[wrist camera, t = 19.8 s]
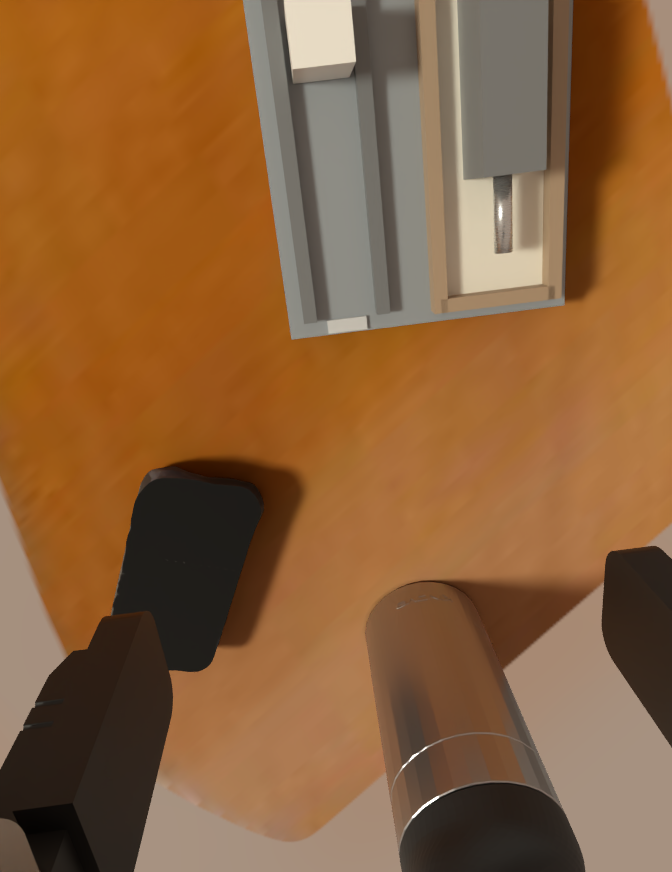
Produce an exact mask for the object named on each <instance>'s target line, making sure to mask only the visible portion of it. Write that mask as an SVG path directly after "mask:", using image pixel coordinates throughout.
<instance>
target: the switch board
mask: <svg viewBox="0 0 672 872" xmlns="http://www.w3.org/2000/svg"><path fill="white" fill-rule="evenodd" d="M243 4H244V11H245V18H246V25H247V32H248V39H249V46H250V53H251V60H252V67H253V74H254V81H255V88H256V95H257V102H258V109H259V116H260V123H261V129H262V136H263V143H264V150H265V157H266V164H267V171H268V178H269V185H270V192H271V199H272V206H273V213H274V220H275V227H276V234H277V241H278V248H279V255H280V262H281V269H282V276H283V283H284V290H285V297H286V304H287V311H288V318H289V325H290V332H291V339H299V338H307V337H315V336H323V335H331V334H339V333H347V332H355V331H363V330H371V329H379V328H387V327H395V326H403V325H411V324H419V323H427V322H435V321H443V320H450V319H458V318H466V317H474V316H482V315H490V314H498V313H506V312H514V311H522V310H530V309H538V308H546V307H554V306H562V305H564V302H565V267H566V233H567V198H568V164H569V129H570V95H571V60H572V26H573V0H549V1H548V81H547V160H546V170H541V171H533V172H525V173H517V174H512V215H513V252H510V253H503V254H495V253H494V213H493V177H486V178H476V179H466V180H463V155H462V127H461V99H460V70H459V42H458V13H457V0H351V9H352V21H353V32H354V44H355V55H356V63H355V65H354V68H353V70H352V72H351V74H350V77H348V78H339V79H331V80H323V81H314V82H306V83H298V84H293V79H292V71H291V63H290V55H289V47H288V39H287V30H286V22H285V12H284V0H243Z"/></svg>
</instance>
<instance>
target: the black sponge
mask: <svg viewBox="0 0 672 872" xmlns="http://www.w3.org/2000/svg"><path fill="white" fill-rule="evenodd" d="M263 511H264V504H263V499H262V497H261V494H260V492H259V490H258V489H257V487H256V486H255V485H253V484H252V483H249V482H244V481H240V480H236V479H229V478H214V477H205V476H201V475H199V474H195V473H191V472H187V471H185V470H182V469H180V468H178V467H175V466H171V467H164V468H158V469H154V470H151V471H150V472H148V473H147V475H146V476H145V477H144V479H143V481H142V483H141V485H140V489H139V493H138V496H137V499H136V501H135V504H134V508H133V513H132V518H131V526H130V531H129V534H128V537H127V541H126V548H125V554H124V557H123V563H122V567H121V571H120V575H119V579H118V584H117V588H116V593H115V598H114V602H113V607H112V613H111V616H112V615H120V614H128V613H135V612H143V611H149V612H150V613H151V614H152V616H153V618H154V621H155V624H156V627H157V631H158V635H159V638H160V642H161V645H162V649H163V652H164V656H165V660H166V663H167V667H168V670H178V671H186V672H198V671H201V670H203V669H205V668H207V667H208V666H209V665H210V664H211V662H212V660H213V658H214V655H215V652H216V649H217V646H218V644H219V640H220V637H221V635H222V630H223V627H224V625H225V622H226V619H227V615H228V612H229V609H230V605H231V602H232V599H233V596H234V593H235V590H236V586H237V583H238V580H239V577H240V573H241V570H242V567H243V564H244V561H245V558H246V555H247V551H248V548H249V544H250V542H251V539H252V536H253V534H254V531H255V529H256V526H257V524H258V522H259V520H260V518H261V516H262V513H263Z"/></svg>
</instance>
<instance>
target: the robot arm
mask: <svg viewBox="0 0 672 872" xmlns="http://www.w3.org/2000/svg"><path fill="white" fill-rule="evenodd" d="M603 594H604V595H603V610H602V631H603V637H604V641H605V644H606V647H607V650H608V652H609V654H610V656H611V658H612V660H613V661H614V663H615V664H616V666H617V667H618V669H619V670H620V672H621V673H622V675H623V676H624V678H625V679H626V681H627V682H628V684H629V685H630V687H631V688H632V689H633V691H634V692H635V694H636V695H637V697H638V698H639V700H640V701H641V703H642V704H643V706H644V707H645V708H646V710H647V711H648V713H649V714H650V716H651V717H652V719H653V720H654V722H655V723H656V725H657V726H658V728H659V729H660V731H661V732H662V734H663V735H664V736H665V738H666V740H667V741H668V742H669V744H670V745H671V747H672V559H671V558H670V557H669V556H668V555H667V554H666V553H665V552H664V551H663V550H661V549H660V548H659V547H657V546H648V547H641V548H633V549H626V550H618V551H611V552H610V553H609V554H608V556H607V558H606V563H605V578H604V593H603ZM365 634H366V642H367V649H368V655H369V662H370V669H371V677H372V684H373V690H374V696H375V703H376V709H377V716H378V722H379V729H380V735H381V742H382V748H383V755H384V761H385V768H386V774H387V781H388V787H389V794H390V800H391V805H392V811H393V818H394V824H395V831H396V837H397V843H398V850H399V855H400V863H401V869H402V872H585V866H584V860H583V856H582V853H581V850H580V847H579V844H578V842H577V840H576V837H575V835H574V833H573V830H572V828H571V826H570V824H569V821H568V819H567V817H566V815H565V813H564V811H563V808H562V806H561V804H560V801H559V799H558V797H557V794H556V792H555V790H554V787H553V785H552V783H551V780H550V778H549V776H548V773H547V772H546V769H545V767H544V765H543V763H542V760H541V758H540V756H539V753H538V751H537V749H536V746H535V744H534V742H533V739H532V737H531V735H530V733H529V730H528V728H527V726H526V723H525V721H524V718H523V716H522V714H521V711H520V709H519V707H518V705H517V702H516V700H515V698H514V695H513V693H512V690H511V688H510V686H509V684H508V681H507V679H506V677H505V674H504V672H503V670H502V667H501V665H500V663H499V660H498V658H497V656H496V653H495V651H494V649H493V646H492V644H491V641H490V639H489V637H488V634H487V632H486V630H485V627H484V625H483V623H482V621H481V618H480V616H479V614H478V611H477V609H476V607H475V606H474V604H473V602H472V601H471V600H470V599H469V598H468V597H467V596H466V595H465V594H464V593H463V592H461V591H460V590H458V589H456V588H455V587H452V586H449V585H446V584H443V583H436V582H419V583H414V584H410V585H406V586H404V587H401V588H399V589H396V590H394V591H393V592H391V593H390V594H388V595H387V596H385V597H384V598H383V599H382V600H381V601H380V602H379V603H378V604H377V605H376V606H375V608H374V609H373V611H372V612H371V614H370V616H369V619H368V621H367V625H366V632H365ZM172 706H173V692H172V683H171V678H170V674H169V670H168V667H167V663H166V660H165V656H164V652H163V649H162V645H161V642H160V638H159V635H158V631H157V627H156V624H155V621H154V618H153V616H152V614H151V613H150V612H149V611H143V612H135V613H128V614H120V615H112V616H105V617H104V618H102V620H101V621H100V623H99V625H98V627H97V629H96V631H95V634H94V636H93V638H92V640H91V642H90V644H89V647H88V649H86V650H78V651H73V652H72V653H71V654H70V655H69V656H68V657H67V658H66V659H65V660H64V661H63V662H62V663H61V664H60V665H59V666H58V667H57V668H56V669H55V670H54V671H53V672H52V673H51V674H50V675H49V677H48V679H47V680H46V682H45V684H44V686H43V688H42V690H41V692H40V694H39V696H38V698H37V700H36V702H35V708H32V709H31V711H30V713H29V715H28V717H27V719H26V721H25V723H24V729H23V731H20V733H19V734H18V736H17V738H16V740H15V742H14V744H13V746H12V748H11V750H10V752H9V754H8V756H7V758H6V759H5V761H4V763H3V766H2V767H1V769H0V872H134V869H135V864H136V860H137V856H138V852H139V848H140V844H141V840H142V835H143V831H144V827H145V823H146V819H147V815H148V811H149V806H150V803H151V798H152V794H153V790H154V786H155V782H156V778H157V774H158V769H159V765H160V761H161V757H162V753H163V749H164V745H165V741H166V736H167V732H168V728H169V724H170V720H171V715H172Z"/></svg>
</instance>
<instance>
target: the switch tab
mask: <svg viewBox="0 0 672 872" xmlns="http://www.w3.org/2000/svg"><path fill="white" fill-rule="evenodd" d="M284 12H285V22H286V30H287V39H288V47H289V55H290V63H291V71H292V79H293V84H298V83H306V82H314V81H323V80H331V79H339V78H348V77H350V74H351V72H352V70H353V68H354V65H355V63H356V55H355V44H354V32H353V21H352V9H351V0H284Z"/></svg>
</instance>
